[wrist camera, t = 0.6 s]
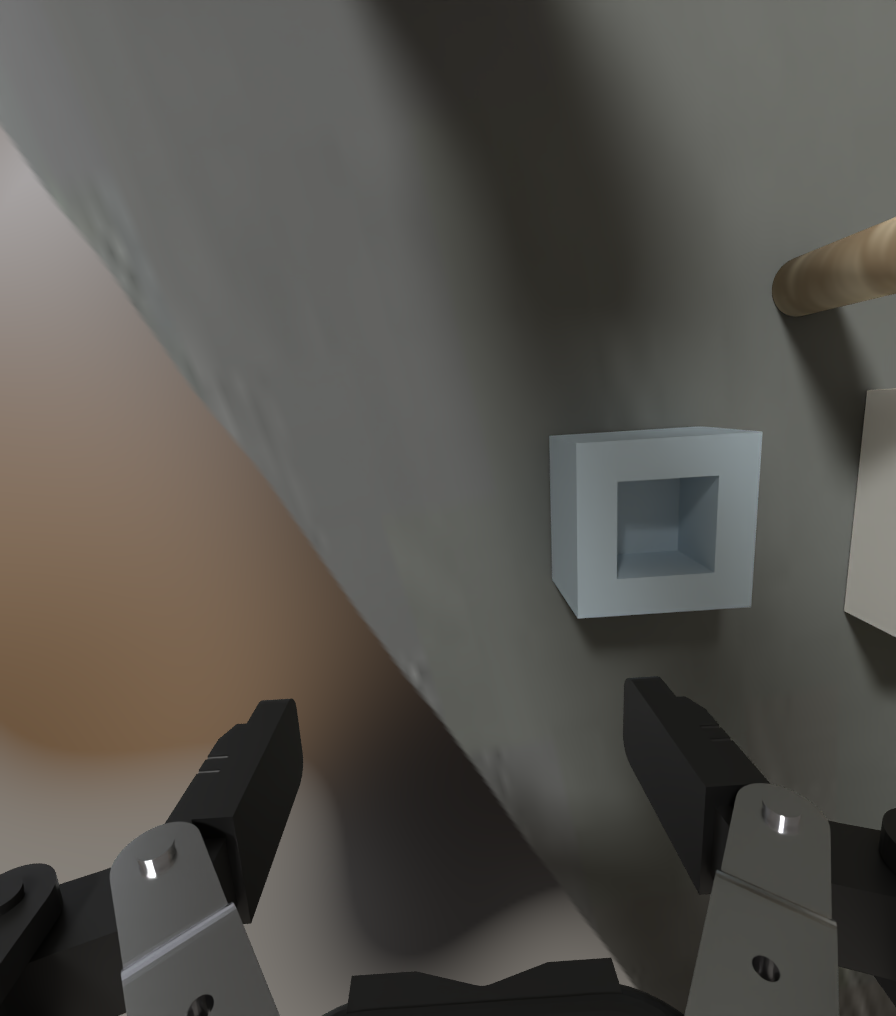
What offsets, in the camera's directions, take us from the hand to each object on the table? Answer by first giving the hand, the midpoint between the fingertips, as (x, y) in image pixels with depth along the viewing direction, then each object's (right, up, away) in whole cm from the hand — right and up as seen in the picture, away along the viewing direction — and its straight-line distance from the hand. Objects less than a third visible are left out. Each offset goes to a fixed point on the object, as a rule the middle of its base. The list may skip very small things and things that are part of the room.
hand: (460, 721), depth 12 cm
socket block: (+10, +5, +19) cm, 22 cm away
